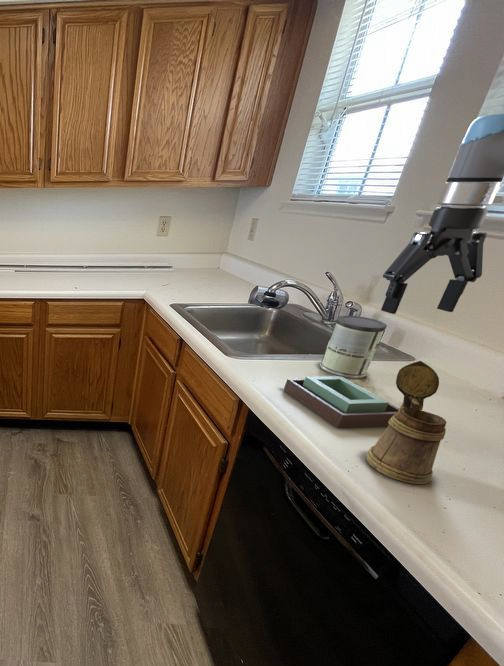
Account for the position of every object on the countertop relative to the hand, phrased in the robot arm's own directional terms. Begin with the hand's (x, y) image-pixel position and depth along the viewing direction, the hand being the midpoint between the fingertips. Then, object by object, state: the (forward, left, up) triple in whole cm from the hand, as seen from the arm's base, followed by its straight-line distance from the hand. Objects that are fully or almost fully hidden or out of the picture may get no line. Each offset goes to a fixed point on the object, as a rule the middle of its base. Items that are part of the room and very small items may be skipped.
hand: (416, 311), depth 91 cm
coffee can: (+16, -4, -22) cm, 27 cm away
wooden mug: (-23, +19, -22) cm, 37 cm away
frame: (-3, +13, -21) cm, 25 cm away
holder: (-3, +13, -22) cm, 25 cm away
